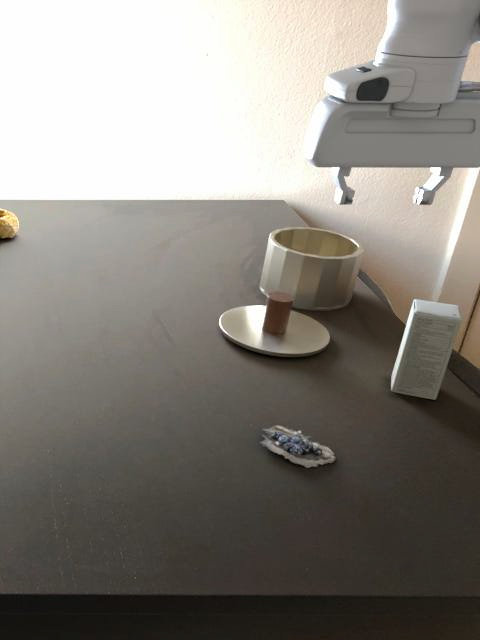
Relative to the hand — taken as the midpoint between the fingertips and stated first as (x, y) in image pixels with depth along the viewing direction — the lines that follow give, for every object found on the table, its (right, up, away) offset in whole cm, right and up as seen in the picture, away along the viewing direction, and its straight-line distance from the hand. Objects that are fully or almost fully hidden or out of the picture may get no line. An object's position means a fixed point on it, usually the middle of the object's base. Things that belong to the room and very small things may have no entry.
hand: (382, 203), depth 88 cm
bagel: (-47, +5, +52) cm, 70 cm away
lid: (-7, -15, +16) cm, 23 cm away
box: (+6, -22, +4) cm, 24 cm away
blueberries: (-13, -29, -7) cm, 32 cm away
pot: (+3, -8, +29) cm, 31 cm away
